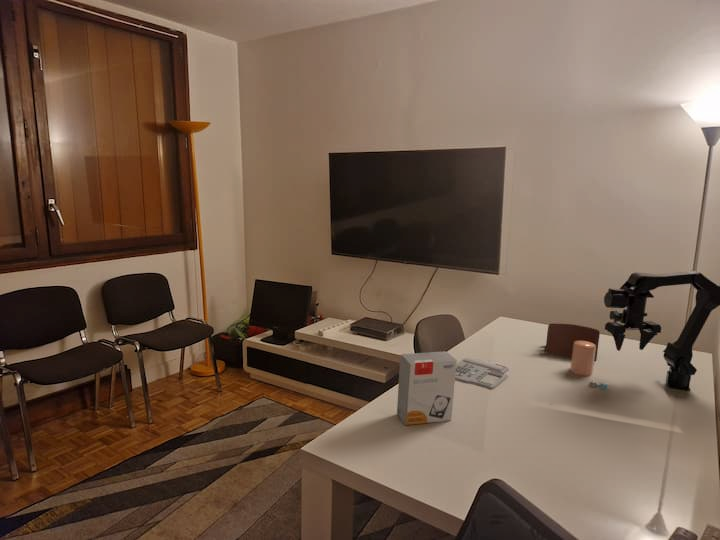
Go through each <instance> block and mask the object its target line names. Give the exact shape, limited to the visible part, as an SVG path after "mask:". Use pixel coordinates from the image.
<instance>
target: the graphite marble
mask: <svg viewBox="0 0 720 540" xmlns="http://www.w3.org/2000/svg"><path fill="white" fill-rule="evenodd" d="M598 386H599V384H598V382H595V381H590V382H589V383H588V387H590V388H592V389H597V388H599V387H598Z"/></svg>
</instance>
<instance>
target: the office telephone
mask: <svg viewBox="0 0 720 540" xmlns="http://www.w3.org/2000/svg"><path fill="white" fill-rule="evenodd" d="M508 371H510V370H509V367H506V365H503V364H498V363H495V362H490V361H487V360H484V359H480V358H475V357H472V356H466V357H465V358H463V359H462V360H461V361H459V362H456V373H455V381H460V382H462V383H465V384H473V385H475V386H476V385H477V386H479V387H480V386H481V387H483V388H487V389H489V390H495V389H496V388H498V387H499V386H500V385H501V384H502V383H503V382H504V381H505V380H506V379H508V374H506V373H507V372H508ZM487 375H491V376H495V377H499V379H498V380H496V382H494V383H489V382H486V381H482V379H484V378H485V377H486V376H487Z"/></svg>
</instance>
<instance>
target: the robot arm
mask: <svg viewBox="0 0 720 540" xmlns="http://www.w3.org/2000/svg"><path fill="white" fill-rule="evenodd" d="M681 285H682V286H683V285H691V286H692V287H693V288H694V289H695V290H696V293H695V306H694V308H693V310H692V311H691V313H690V315H689V317H688V319H687V321H686V322H685V325H684V326H683V328H682V330H681V333H680V334H679V336H678V338H677V340H676V341H674V342H673V343H671V342H667V344H666V347H665V349H663V351H662V353H663V359H664V361H665V362H666V365H667V366H669V370H667V371H666V377H665V382H666V384H667V386H668V387H669V388H671V389H678V390H684V391H689V392H690V391H691V388H690V383H691V380H692V379H691V378H692V376H695V374H696V373H697V371H698V369H697V368H696V367H695V366H694V365H693V364H692V363H691V362H692V359H693V355H694V353H693V346H694V345H695V342H696V341H697V339H698V338H699V335H700V333H701V331H702V329H703V327H704V326H705V324H706V322H707V321H708V318H709V317H710V314H711V312H712V311H713V310H715V309H717V308H718V307H719V306H720V285H718V284H716V283H714V281H712V280H710V279H709V278H707V277H706V276H705V275H704V274H703V273H701V272H698V271H695V270H689V271H682V272H681V271H680V272H668V273H659V274H658V273H657V274H653V273H646V272H633V273H631V274H630V275H629V277H628V278H627V280H626V281H625V282H624V283H623V284H622V285H621V286H620V288H619V289H618V288H612V287H611V288H608V290H607V292H606V293H605V295H604V297H603V302H604V306H605V307H606V308H607V309H608V308H609V309H610V308H611V309H623V310H622V312H619V311H618V310H610V312H609V319H610V320H613V321H607V322H606V323H605V324H604V330H606V331H607V332H608V333H611V335H612V337H613V340H614V344H615V347H616V348H615V349H616V350H617V351H618V352H620V351H621V349H622V346H623V343H624V340H625V339H626V334H625V333H626V331H639V333H640V337H639V350H641V351H643V350H644V349H645V348H646V347H647V345H648V344H649V342H651V340H652V339H653V338H655V336H658V334H661V332H662V326H661V325H660V324H659V323H656V322H654V321H652V320H645V317H647V316H648V313H647V312H646V306H647V299H648V298H651V299H652V298H653V299H654V297H655V296H654V295H653V294H652V293H651V291H654V290H656V289H658V288H661V287H671V286H681Z"/></svg>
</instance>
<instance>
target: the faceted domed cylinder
mask: <svg viewBox="0 0 720 540" xmlns="http://www.w3.org/2000/svg"><path fill="white" fill-rule="evenodd" d="M595 350H596V345H595V344H593V343H591V342H587V341H575V342H574V344H573V352H572V357H571V362H570V372H571V373H573V374H575V375H579V376H586V377H588V376H591V375H593V373H594V364H595V361H594V358H595Z"/></svg>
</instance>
